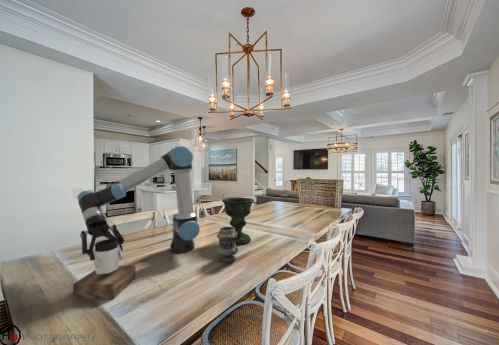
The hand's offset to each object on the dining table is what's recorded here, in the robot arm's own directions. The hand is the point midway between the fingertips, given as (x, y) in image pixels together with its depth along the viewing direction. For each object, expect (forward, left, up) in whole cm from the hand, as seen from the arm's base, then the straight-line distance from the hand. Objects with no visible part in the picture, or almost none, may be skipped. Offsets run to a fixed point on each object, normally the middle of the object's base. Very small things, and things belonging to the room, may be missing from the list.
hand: (110, 262), depth 91 cm
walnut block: (+3, -2, -12) cm, 13 cm away
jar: (+3, -2, -4) cm, 6 cm away
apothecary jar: (-46, -32, -12) cm, 58 cm away
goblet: (-50, -63, -12) cm, 81 cm away
